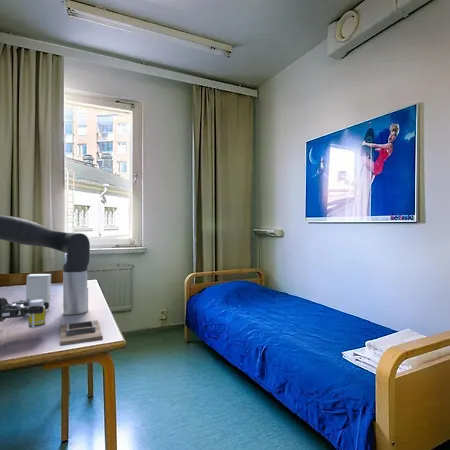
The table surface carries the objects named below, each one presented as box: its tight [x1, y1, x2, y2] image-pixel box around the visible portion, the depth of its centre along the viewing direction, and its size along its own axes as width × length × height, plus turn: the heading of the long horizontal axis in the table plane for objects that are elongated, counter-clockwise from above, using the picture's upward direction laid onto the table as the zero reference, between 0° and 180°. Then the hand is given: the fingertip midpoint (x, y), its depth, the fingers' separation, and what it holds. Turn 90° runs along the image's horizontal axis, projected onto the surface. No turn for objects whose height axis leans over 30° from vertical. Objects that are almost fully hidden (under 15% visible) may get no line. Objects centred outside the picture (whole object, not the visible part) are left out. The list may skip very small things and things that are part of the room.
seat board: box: [59, 319, 103, 346], centre depth 112 cm, size 20×12×2 cm, turn 25°
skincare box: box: [25, 273, 52, 313], centre depth 142 cm, size 8×7×16 cm
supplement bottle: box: [27, 299, 46, 329], centre depth 108 cm, size 5×5×8 cm
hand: (45, 307), depth 108 cm, fingers closed on supplement bottle, 4 cm apart
